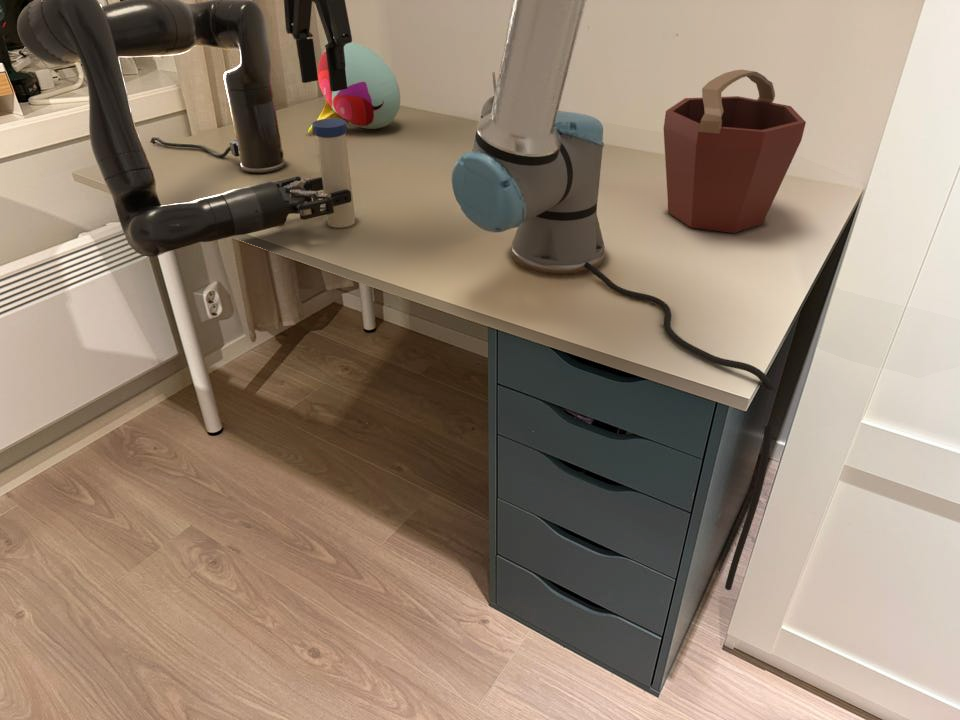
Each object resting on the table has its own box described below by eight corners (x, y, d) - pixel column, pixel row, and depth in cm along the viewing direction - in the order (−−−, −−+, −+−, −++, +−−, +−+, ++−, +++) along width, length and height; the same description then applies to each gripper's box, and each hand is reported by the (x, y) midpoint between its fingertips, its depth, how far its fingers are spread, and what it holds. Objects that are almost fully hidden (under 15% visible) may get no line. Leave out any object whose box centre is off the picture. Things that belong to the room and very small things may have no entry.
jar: (360, 221, 130) (350, 125, 120) (338, 230, 127) (326, 131, 117) (344, 214, 133) (332, 119, 123) (322, 222, 130) (308, 125, 120)
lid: (354, 131, 121) (353, 122, 120) (326, 139, 117) (325, 130, 117) (334, 125, 124) (332, 116, 123) (306, 132, 121) (304, 123, 120)
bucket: (710, 250, 119) (740, 96, 105) (622, 208, 134) (638, 69, 120) (804, 218, 129) (843, 75, 115) (713, 183, 145) (736, 53, 131)
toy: (277, 110, 181) (275, 51, 163) (352, 72, 191) (358, 13, 173) (336, 175, 178) (341, 122, 160) (410, 134, 188) (421, 79, 170)
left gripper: (264, 200, 112) (355, 179, 120) (233, 175, 122) (319, 157, 129) (272, 243, 116) (360, 220, 124) (242, 216, 126) (325, 196, 134)
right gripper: (366, -76, 100) (380, 92, 113) (288, -79, 112) (309, 72, 125) (321, -73, 95) (341, 100, 108) (246, -78, 108) (271, 79, 121)
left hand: (339, 188), depth 127 cm, fingers open, 8 cm apart
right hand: (324, 85), depth 117 cm, fingers open, 8 cm apart
